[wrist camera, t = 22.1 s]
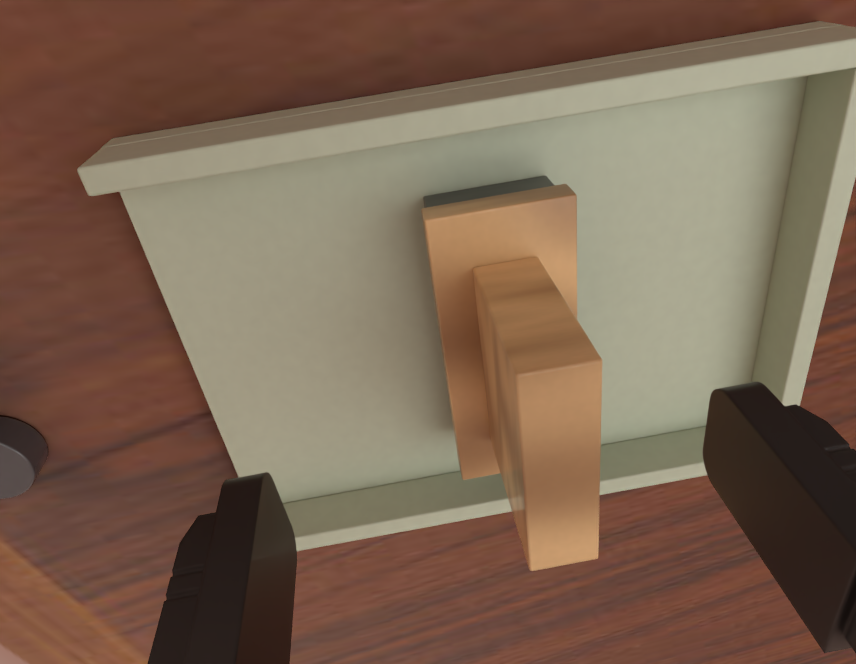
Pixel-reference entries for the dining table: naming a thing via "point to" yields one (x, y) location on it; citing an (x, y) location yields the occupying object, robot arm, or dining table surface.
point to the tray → (410, 273)
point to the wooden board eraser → (520, 357)
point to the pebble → (19, 456)
